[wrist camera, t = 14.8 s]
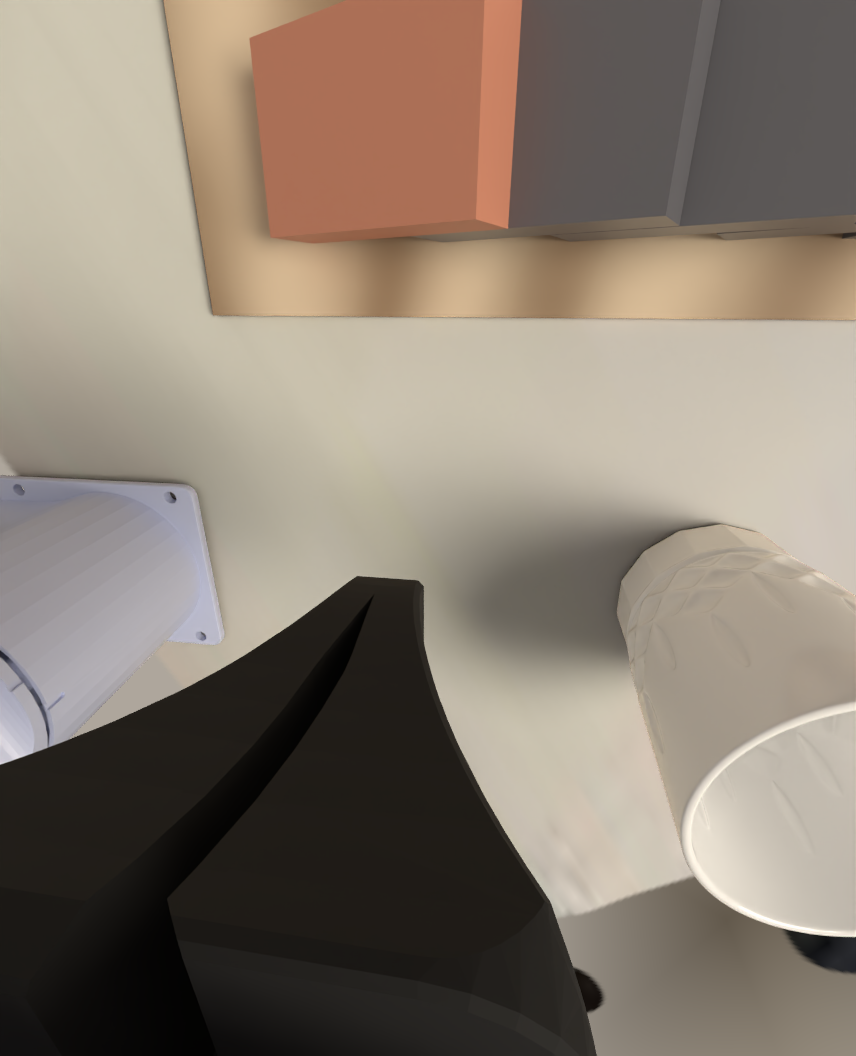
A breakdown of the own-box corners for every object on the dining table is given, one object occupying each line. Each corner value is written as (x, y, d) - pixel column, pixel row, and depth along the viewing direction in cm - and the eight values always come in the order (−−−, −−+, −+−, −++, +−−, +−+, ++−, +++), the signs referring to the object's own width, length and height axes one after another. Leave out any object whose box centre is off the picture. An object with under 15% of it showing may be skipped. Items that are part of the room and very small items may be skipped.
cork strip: (217, 315, 18) (212, 315, 18) (165, -24, 14) (158, -30, 14) (1022, 321, 15) (1032, 320, 15) (1215, -101, 11) (1232, -111, 11)
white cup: (721, 701, 22) (878, 975, 13) (565, 628, 22) (615, 861, 13) (858, 563, 19) (1193, 801, 10) (677, 473, 18) (854, 637, 9)
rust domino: (270, 237, 15) (475, 219, 12) (249, 38, 13) (486, -55, 10) (313, 243, 16) (507, 228, 13) (299, 63, 15) (522, -10, 11)
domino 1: (409, 236, 15) (665, 215, 11) (408, 28, 13) (715, -76, 9) (442, 242, 16) (679, 225, 12) (445, 56, 14) (725, -26, 11)
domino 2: (550, 235, 14) (863, 213, 11) (569, 20, 12) (956, -90, 9) (570, 241, 16) (853, 224, 12) (590, 49, 14) (932, -36, 10)
